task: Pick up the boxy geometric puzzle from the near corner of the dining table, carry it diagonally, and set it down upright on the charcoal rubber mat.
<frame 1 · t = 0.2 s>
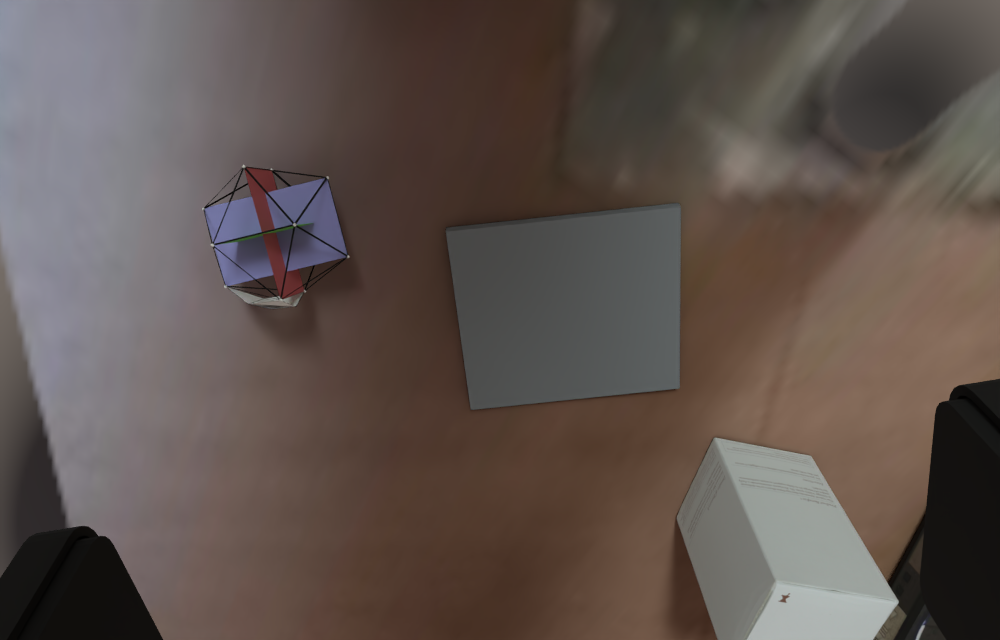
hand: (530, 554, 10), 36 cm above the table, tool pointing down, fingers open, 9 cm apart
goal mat: (568, 309, 49), on the table
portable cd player: (983, 589, 63), on the table
geometric puzzle: (288, 208, 46), on the table
supplement box: (741, 484, 56), on the table
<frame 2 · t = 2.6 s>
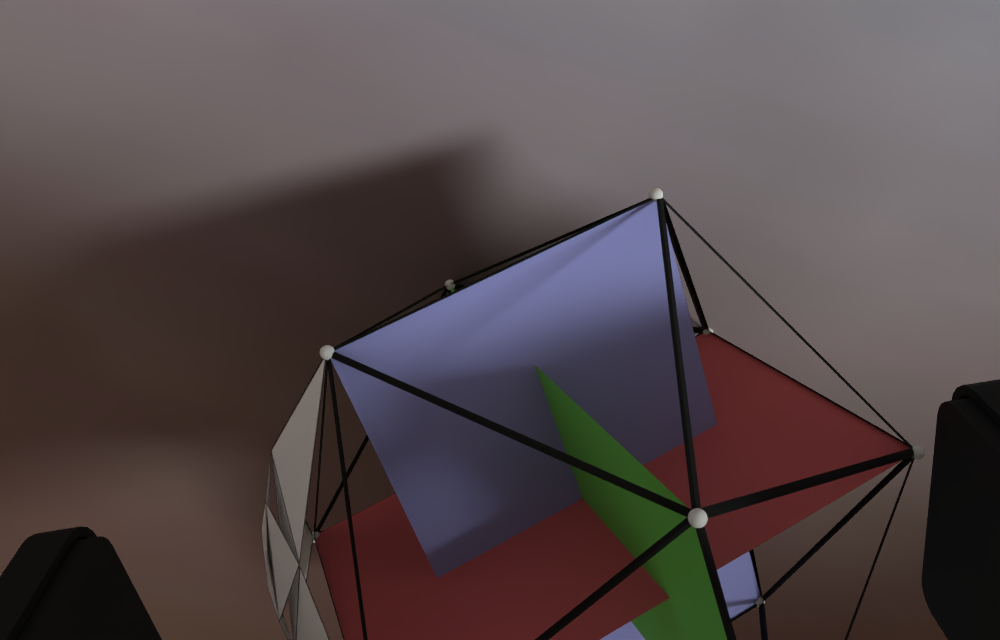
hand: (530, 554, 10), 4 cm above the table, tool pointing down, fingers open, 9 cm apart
geometric puzzle: (561, 364, 14), on the table, touching gripper
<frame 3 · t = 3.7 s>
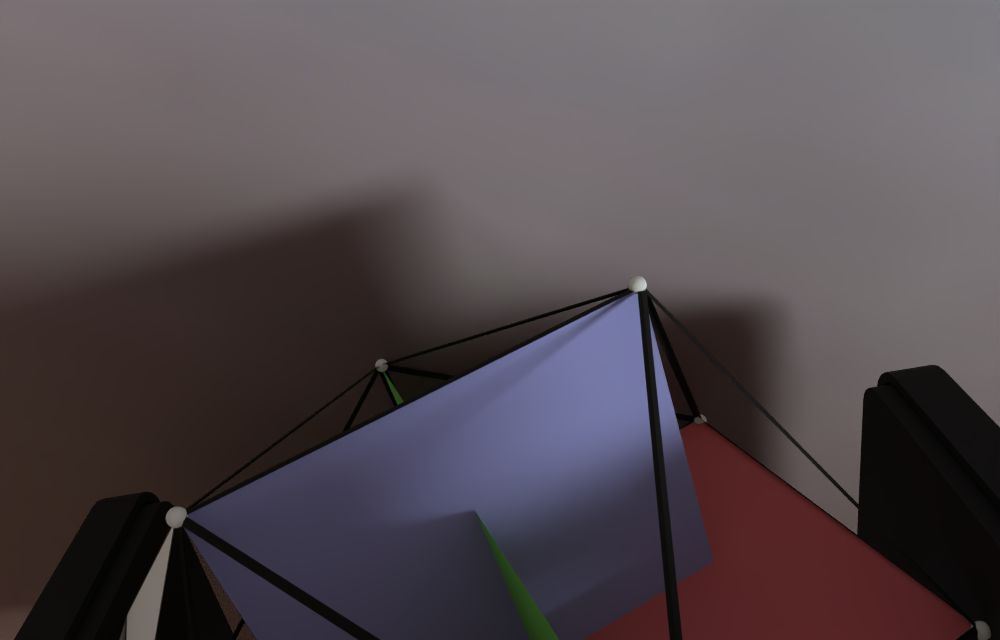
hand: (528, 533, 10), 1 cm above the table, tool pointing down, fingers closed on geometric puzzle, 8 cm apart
geometric puzzle: (522, 454, 11), on the table, touching gripper
when the fingers open (3 cm above the table, at t = 10.1 s): geometric puzzle stays where it is, resting on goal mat.
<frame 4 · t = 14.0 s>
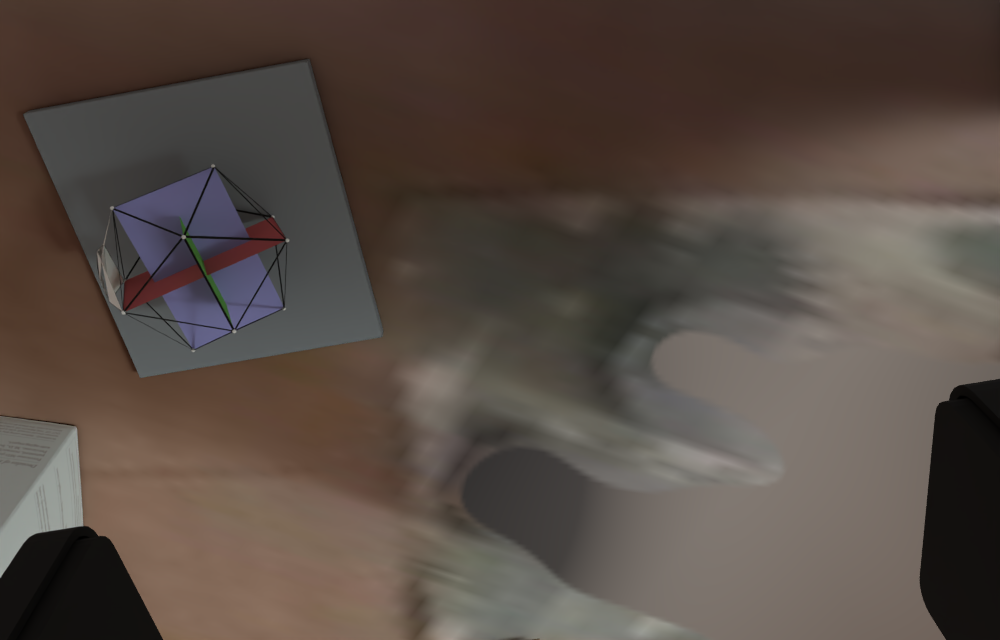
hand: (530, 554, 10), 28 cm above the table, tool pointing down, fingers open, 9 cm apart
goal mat: (219, 228, 37), on the table
geometric puzzle: (224, 230, 37), resting on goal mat
supplement box: (12, 468, 44), on the table
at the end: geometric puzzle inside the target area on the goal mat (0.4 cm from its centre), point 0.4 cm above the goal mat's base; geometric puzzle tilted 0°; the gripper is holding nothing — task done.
